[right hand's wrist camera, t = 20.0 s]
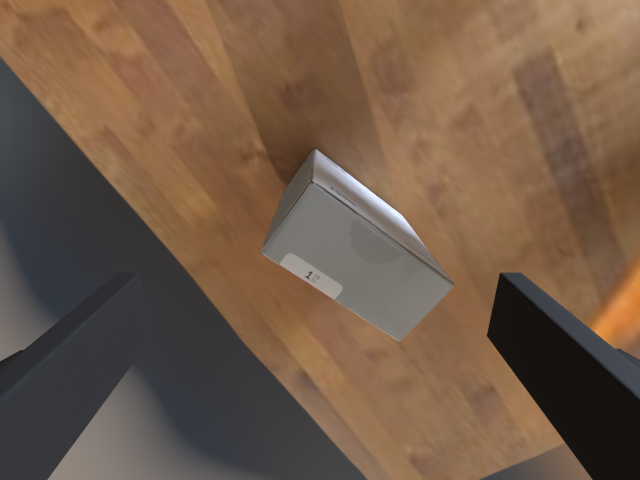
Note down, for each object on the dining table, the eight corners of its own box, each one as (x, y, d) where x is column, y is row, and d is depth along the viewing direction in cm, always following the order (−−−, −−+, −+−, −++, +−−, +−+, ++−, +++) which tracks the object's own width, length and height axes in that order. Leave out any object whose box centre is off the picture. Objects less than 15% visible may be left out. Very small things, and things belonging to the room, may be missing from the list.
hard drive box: (280, 193, 46) (254, 250, 28) (314, 146, 44) (310, 174, 26) (369, 256, 50) (399, 344, 31) (405, 215, 48) (459, 284, 29)
